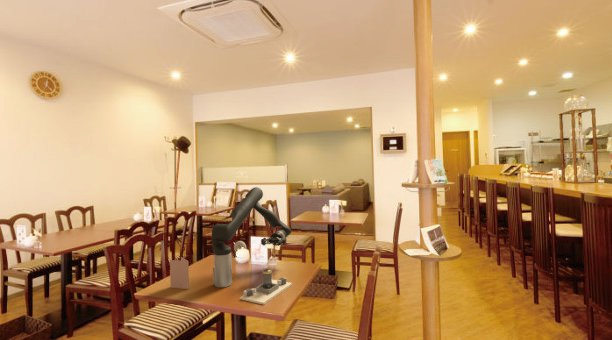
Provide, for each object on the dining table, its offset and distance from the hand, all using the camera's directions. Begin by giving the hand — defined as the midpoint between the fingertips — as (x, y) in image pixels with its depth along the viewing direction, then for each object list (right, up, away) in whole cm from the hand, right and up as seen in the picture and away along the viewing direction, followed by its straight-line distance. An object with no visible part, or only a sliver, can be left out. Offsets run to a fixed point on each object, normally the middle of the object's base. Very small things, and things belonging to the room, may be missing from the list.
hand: (270, 243), depth 168 cm
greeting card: (-49, -23, -5) cm, 54 cm away
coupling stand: (0, -21, -13) cm, 25 cm away
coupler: (0, -20, -13) cm, 24 cm away
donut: (-29, -22, +56) cm, 67 cm away
